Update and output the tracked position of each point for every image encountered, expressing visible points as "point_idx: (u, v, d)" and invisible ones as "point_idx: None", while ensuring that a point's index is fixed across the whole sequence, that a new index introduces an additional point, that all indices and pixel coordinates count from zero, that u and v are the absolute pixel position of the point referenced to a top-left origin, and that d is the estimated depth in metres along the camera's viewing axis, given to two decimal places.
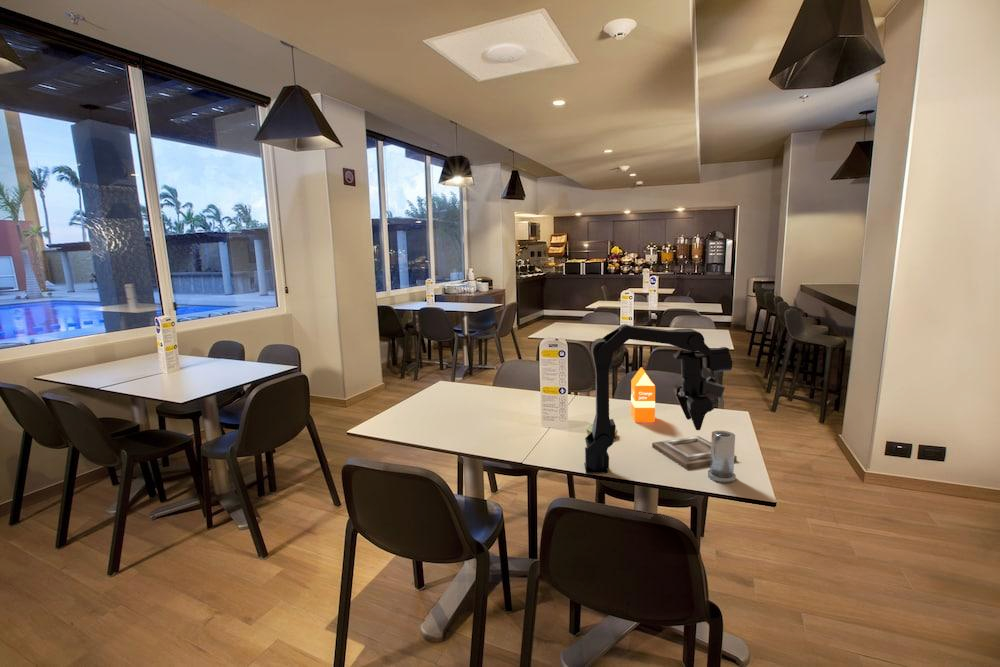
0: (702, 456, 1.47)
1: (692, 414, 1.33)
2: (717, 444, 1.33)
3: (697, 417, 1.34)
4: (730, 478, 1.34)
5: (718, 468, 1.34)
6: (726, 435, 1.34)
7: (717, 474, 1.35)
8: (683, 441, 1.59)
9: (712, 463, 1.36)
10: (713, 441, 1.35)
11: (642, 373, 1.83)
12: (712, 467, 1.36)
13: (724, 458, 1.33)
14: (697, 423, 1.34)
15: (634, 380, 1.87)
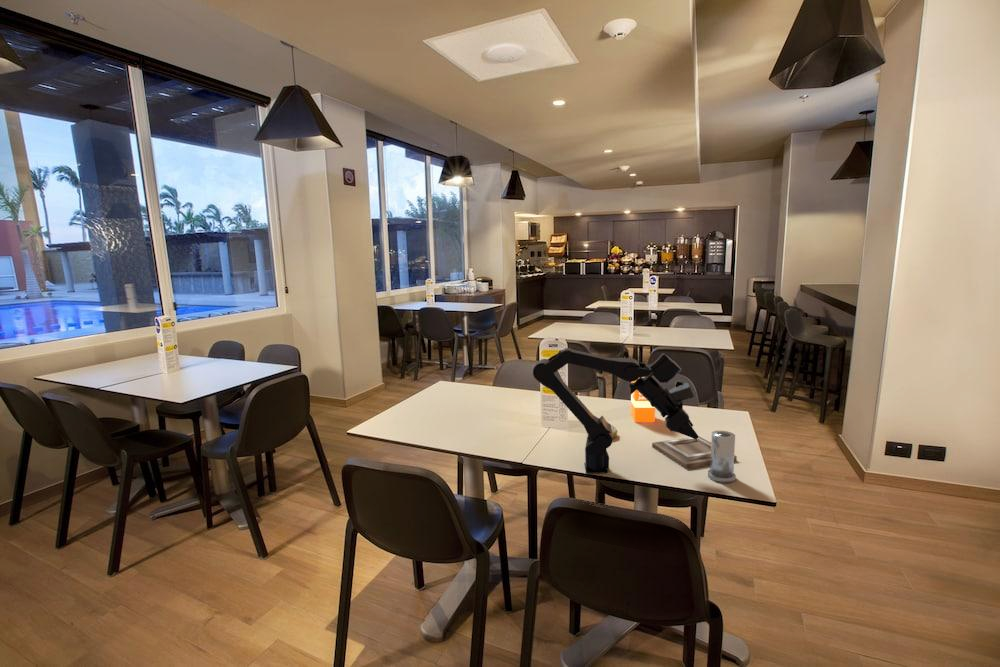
0: (702, 456, 1.47)
1: (678, 431, 1.31)
2: (717, 444, 1.33)
3: (685, 429, 1.31)
4: (730, 478, 1.34)
5: (718, 468, 1.34)
6: (726, 435, 1.34)
7: (717, 474, 1.35)
8: (683, 441, 1.59)
9: (712, 463, 1.36)
10: (713, 441, 1.35)
11: None
12: (712, 467, 1.36)
13: (724, 458, 1.33)
14: (690, 434, 1.32)
15: None
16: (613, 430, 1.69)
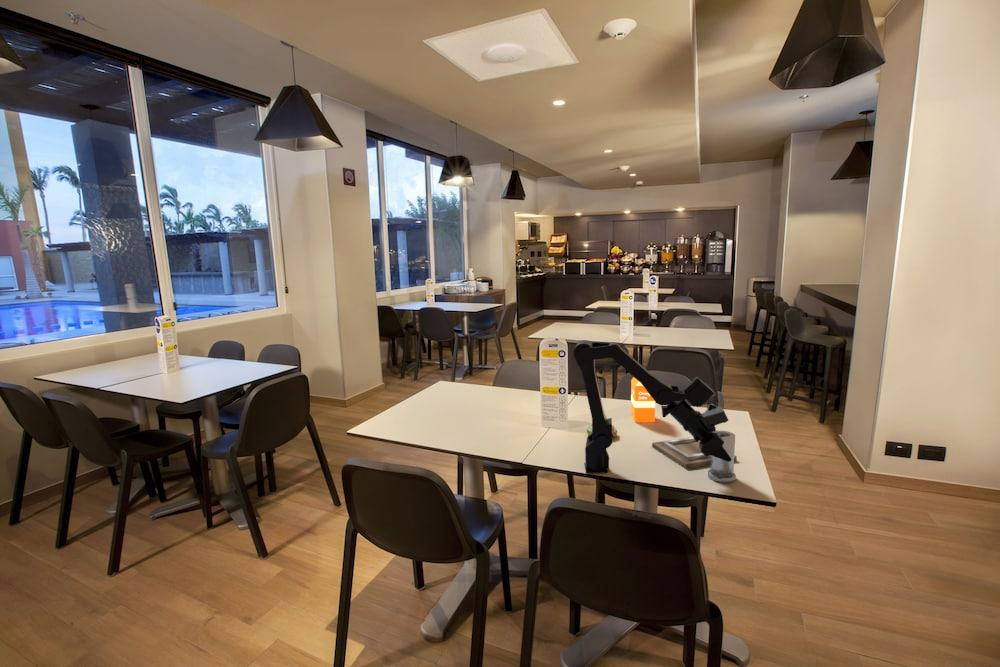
0: (702, 456, 1.47)
1: (712, 453, 1.32)
2: None
3: (719, 452, 1.32)
4: (730, 478, 1.34)
5: (718, 468, 1.34)
6: (726, 435, 1.34)
7: (717, 474, 1.35)
8: (683, 441, 1.59)
9: (712, 463, 1.36)
10: None
11: None
12: (712, 467, 1.36)
13: None
14: (724, 456, 1.32)
15: (634, 380, 1.87)
16: None
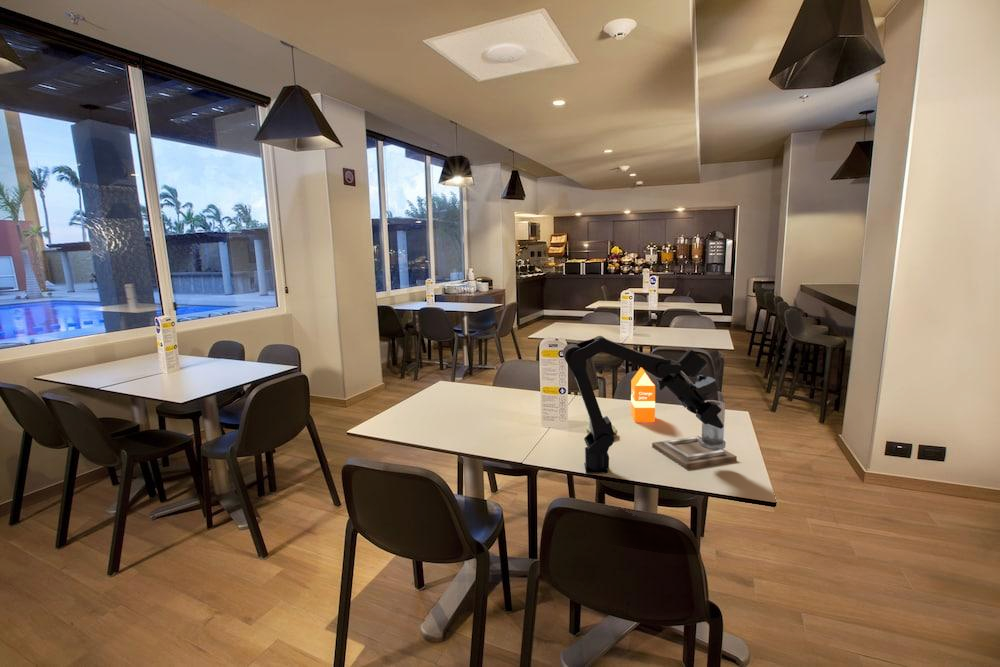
0: (702, 456, 1.47)
1: None
2: None
3: (713, 420, 1.38)
4: (722, 444, 1.40)
5: (711, 436, 1.40)
6: (717, 403, 1.40)
7: (710, 441, 1.40)
8: (683, 441, 1.59)
9: (704, 431, 1.42)
10: None
11: (642, 373, 1.83)
12: (704, 435, 1.42)
13: None
14: (717, 424, 1.38)
15: (634, 380, 1.87)
16: (613, 430, 1.68)
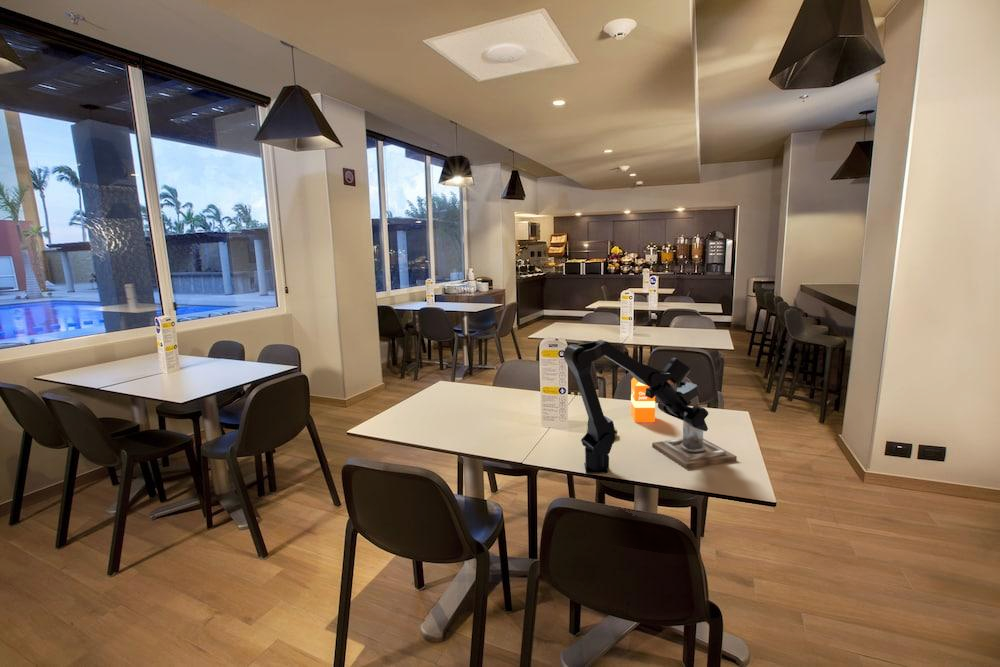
0: (702, 456, 1.47)
1: (696, 426, 1.45)
2: None
3: (700, 424, 1.46)
4: (702, 448, 1.51)
5: (694, 441, 1.50)
6: None
7: (693, 446, 1.51)
8: None
9: (687, 437, 1.51)
10: None
11: None
12: (687, 441, 1.51)
13: (699, 431, 1.50)
14: (703, 427, 1.47)
15: (634, 380, 1.87)
16: None
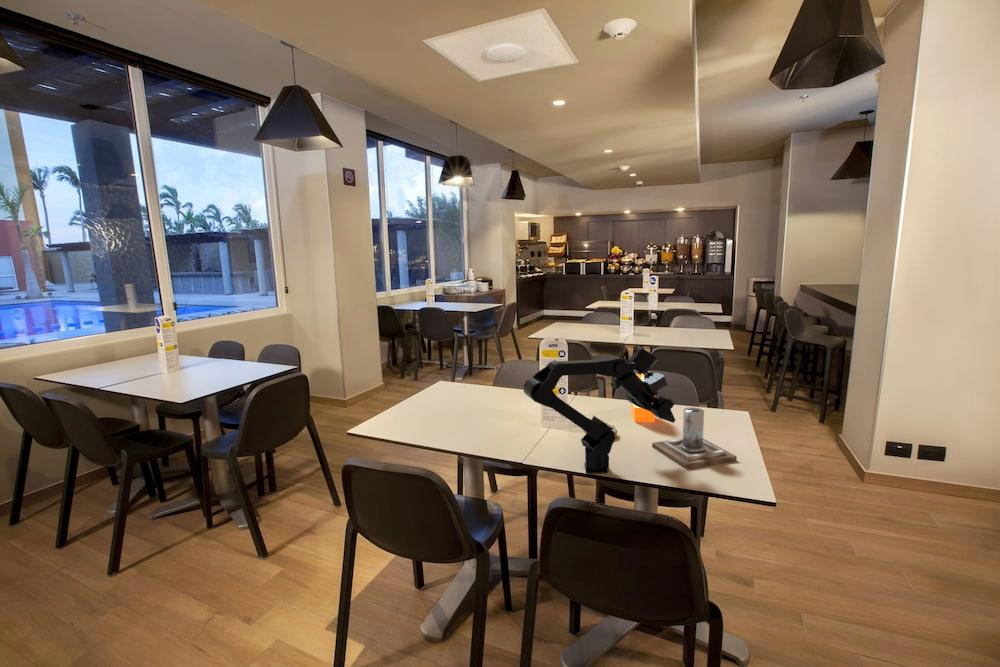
0: (702, 456, 1.47)
1: (663, 417, 1.41)
2: (693, 420, 1.49)
3: (667, 415, 1.42)
4: (702, 448, 1.51)
5: (694, 441, 1.50)
6: (697, 410, 1.51)
7: (693, 446, 1.50)
8: None
9: (687, 437, 1.51)
10: (688, 418, 1.50)
11: None
12: (687, 441, 1.51)
13: (699, 431, 1.50)
14: (670, 418, 1.43)
15: None
16: (613, 430, 1.68)
